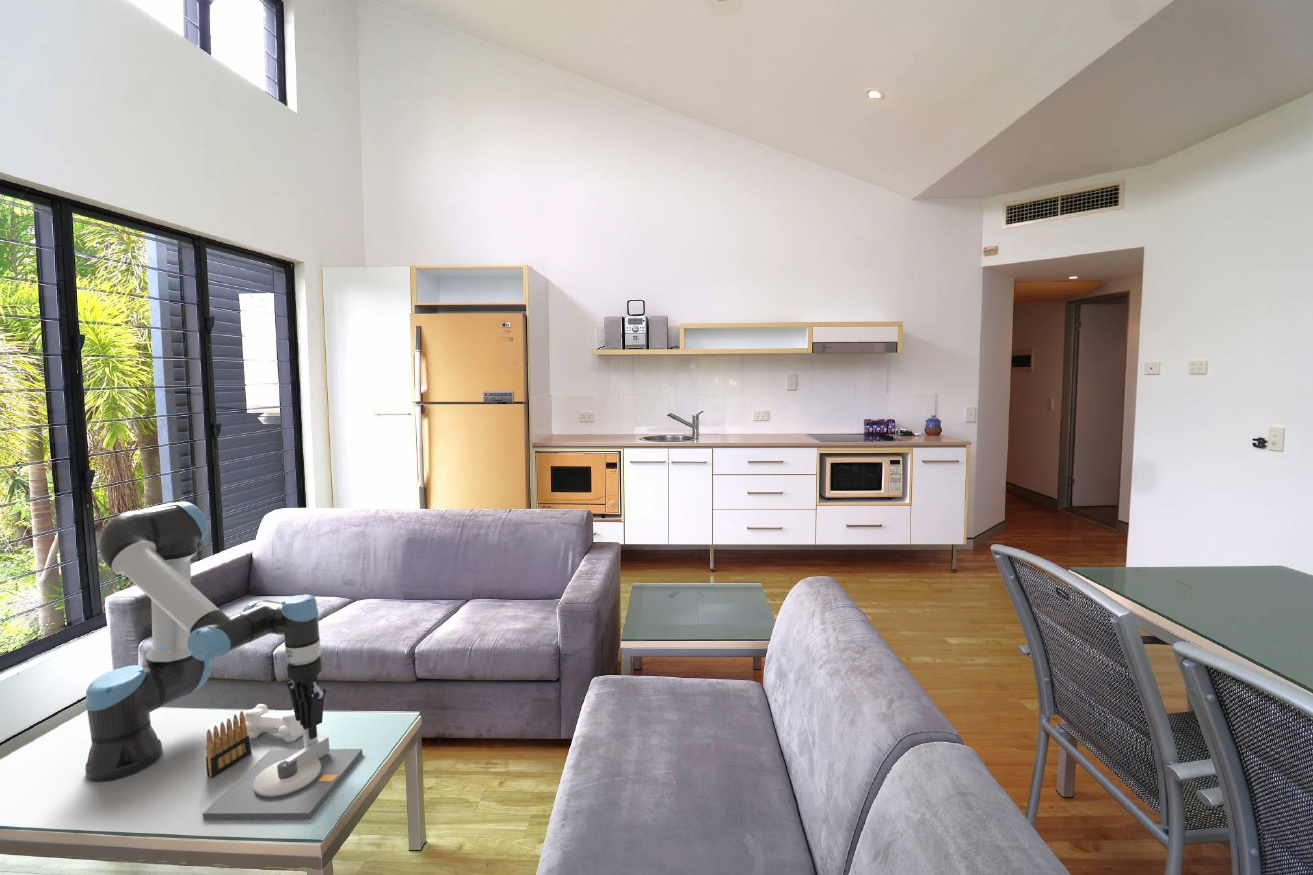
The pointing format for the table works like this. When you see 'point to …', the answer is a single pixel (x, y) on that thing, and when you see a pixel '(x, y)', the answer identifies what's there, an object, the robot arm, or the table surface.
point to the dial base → (295, 805)
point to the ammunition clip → (227, 746)
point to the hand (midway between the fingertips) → (311, 749)
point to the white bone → (272, 723)
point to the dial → (292, 771)
